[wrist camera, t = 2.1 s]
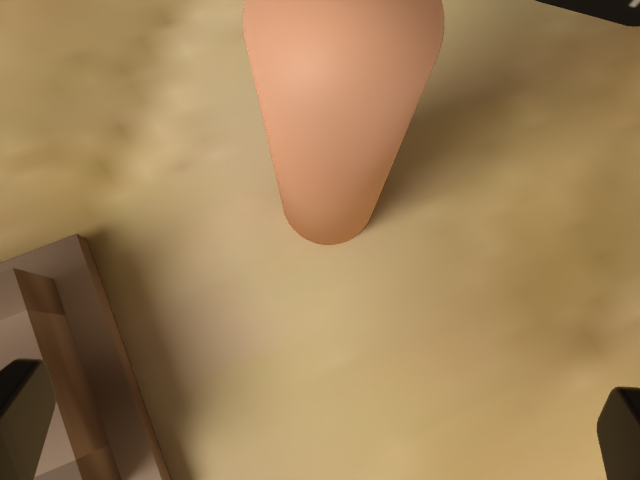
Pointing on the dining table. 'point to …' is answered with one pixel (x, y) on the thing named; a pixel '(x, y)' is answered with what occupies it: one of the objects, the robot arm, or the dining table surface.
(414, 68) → the peg
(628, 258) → the dining table surface
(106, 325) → the socket block
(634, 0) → the sign
